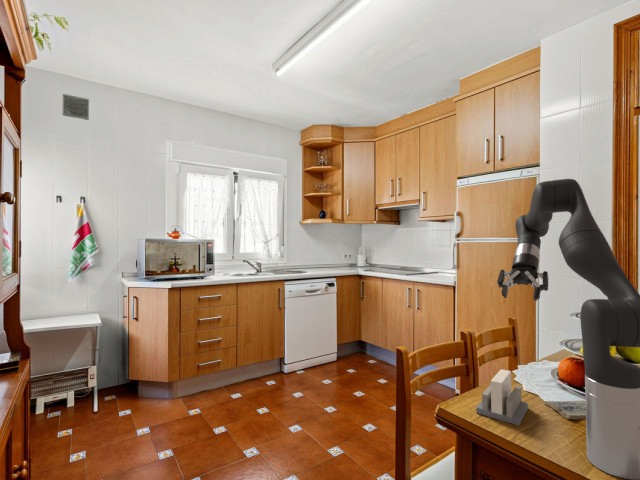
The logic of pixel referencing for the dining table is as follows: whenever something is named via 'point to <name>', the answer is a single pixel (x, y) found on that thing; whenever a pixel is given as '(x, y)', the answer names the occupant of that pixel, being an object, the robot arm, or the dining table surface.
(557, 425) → the dining table surface
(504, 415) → the grey twin-fin stand
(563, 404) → the ceramic fragment
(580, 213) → the robot arm
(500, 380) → the cream rectangular slab
